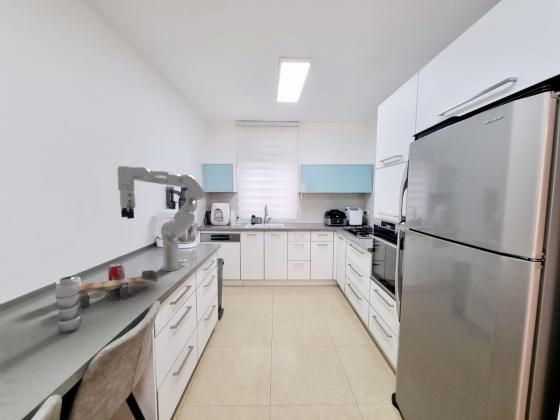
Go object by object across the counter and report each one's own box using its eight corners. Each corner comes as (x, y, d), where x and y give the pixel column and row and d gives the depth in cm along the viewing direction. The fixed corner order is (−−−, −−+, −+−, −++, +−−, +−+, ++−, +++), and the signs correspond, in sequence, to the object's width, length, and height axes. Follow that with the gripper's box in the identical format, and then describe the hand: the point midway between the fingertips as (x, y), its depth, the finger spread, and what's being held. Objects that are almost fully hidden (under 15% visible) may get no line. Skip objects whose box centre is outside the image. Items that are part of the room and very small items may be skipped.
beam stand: (126, 288, 116) (125, 274, 115) (135, 295, 108) (134, 281, 107) (76, 302, 101) (75, 287, 100) (83, 312, 93) (81, 295, 92)
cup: (52, 306, 97) (50, 284, 97) (71, 293, 109) (70, 274, 108) (73, 304, 99) (72, 283, 98) (90, 292, 111) (89, 273, 110)
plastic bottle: (68, 324, 84) (64, 275, 82) (86, 324, 85) (83, 274, 83) (52, 335, 78) (48, 282, 76) (72, 334, 78) (68, 281, 77)
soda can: (116, 289, 115) (115, 267, 114) (105, 287, 116) (104, 266, 115) (128, 283, 122) (127, 263, 121) (117, 282, 123) (116, 262, 122)
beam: (151, 277, 123) (152, 269, 123) (157, 281, 118) (158, 272, 118) (73, 289, 98) (75, 279, 98) (77, 294, 93) (78, 284, 93)
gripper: (139, 188, 121) (140, 218, 123) (128, 188, 132) (129, 216, 133) (123, 188, 115) (125, 219, 117) (113, 188, 126) (115, 217, 127)
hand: (127, 217), depth 125 cm, fingers open, 9 cm apart
